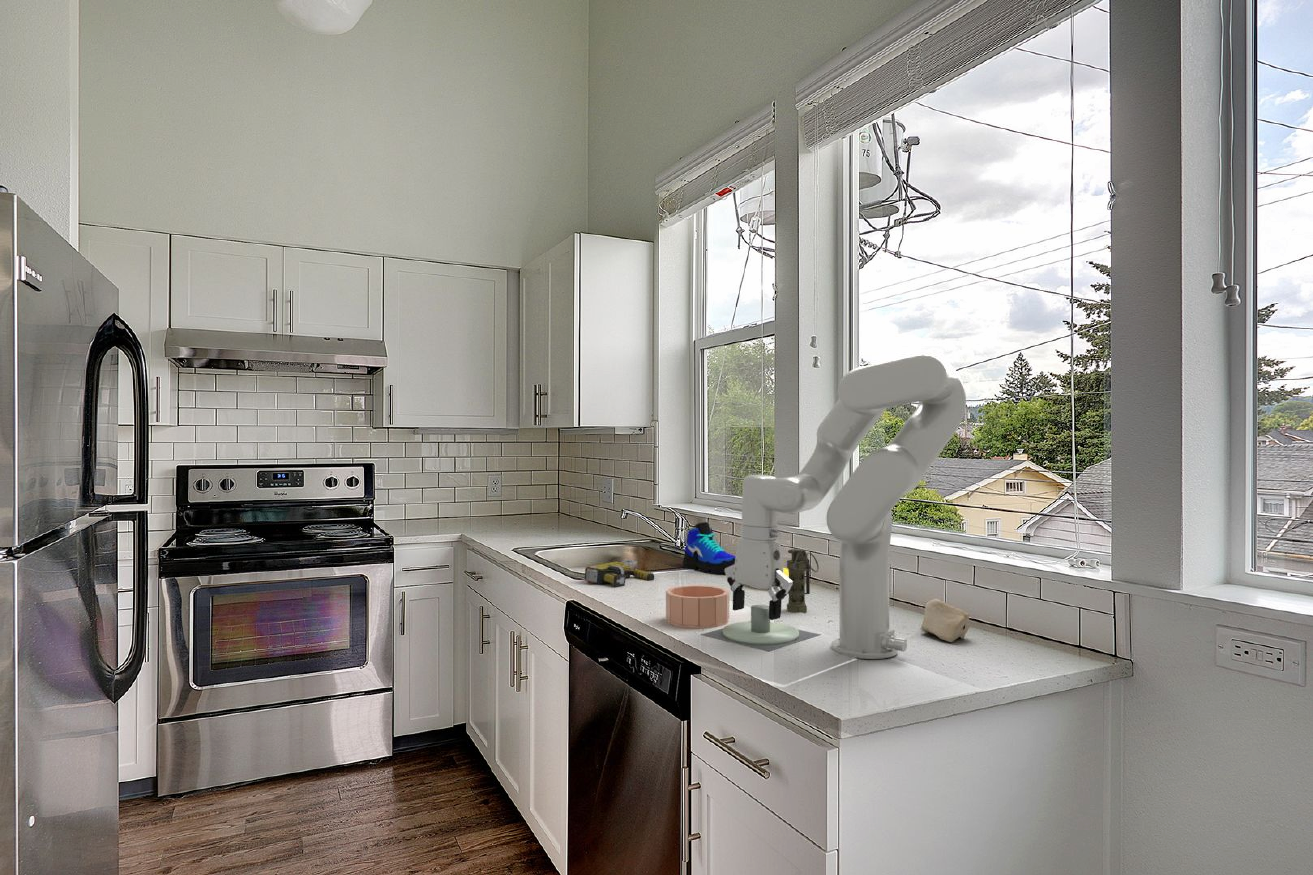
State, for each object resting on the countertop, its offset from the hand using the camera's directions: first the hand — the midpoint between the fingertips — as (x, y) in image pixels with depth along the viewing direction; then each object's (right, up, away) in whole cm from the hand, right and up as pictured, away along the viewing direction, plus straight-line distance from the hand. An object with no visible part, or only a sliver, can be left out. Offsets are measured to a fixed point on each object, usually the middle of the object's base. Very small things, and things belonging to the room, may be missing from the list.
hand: (756, 613), depth 165 cm
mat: (+1, -5, 0) cm, 5 cm away
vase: (+12, -5, +55) cm, 57 cm away
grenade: (+14, -5, +22) cm, 26 cm away
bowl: (-12, -5, +12) cm, 18 cm away
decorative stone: (+39, -5, 0) cm, 40 cm away
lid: (+1, -4, 0) cm, 4 cm away
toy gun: (-30, -5, +65) cm, 72 cm away
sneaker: (-4, -5, +80) cm, 80 cm away
